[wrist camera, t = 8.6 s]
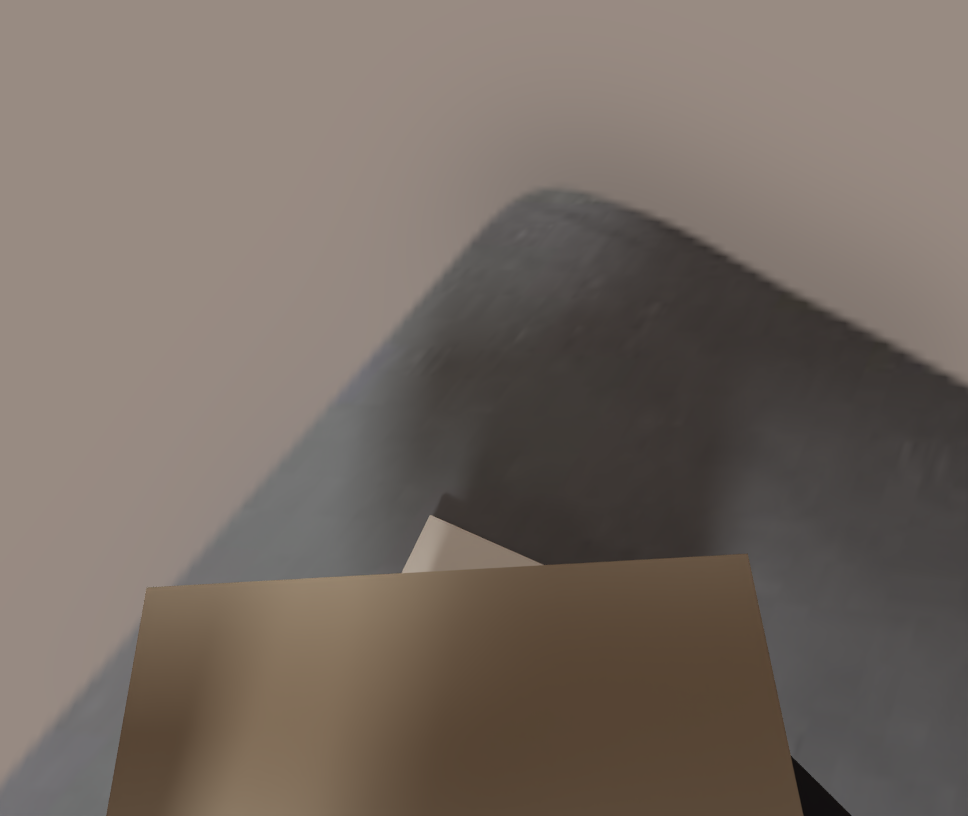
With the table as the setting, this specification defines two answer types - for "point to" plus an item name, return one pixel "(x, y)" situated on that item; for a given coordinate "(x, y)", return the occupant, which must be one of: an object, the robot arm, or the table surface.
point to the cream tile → (458, 551)
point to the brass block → (459, 696)
